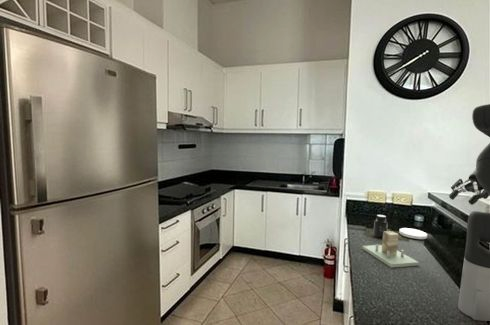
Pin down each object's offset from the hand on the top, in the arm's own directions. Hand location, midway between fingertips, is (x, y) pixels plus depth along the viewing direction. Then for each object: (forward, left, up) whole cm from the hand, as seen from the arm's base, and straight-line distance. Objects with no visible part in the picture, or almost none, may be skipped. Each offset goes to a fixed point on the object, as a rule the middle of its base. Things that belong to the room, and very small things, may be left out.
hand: (460, 200), depth 120 cm
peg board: (+9, +23, -31) cm, 39 cm away
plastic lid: (+43, -1, -31) cm, 53 cm away
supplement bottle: (+37, +19, -31) cm, 51 cm away
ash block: (+9, +23, -29) cm, 38 cm away
